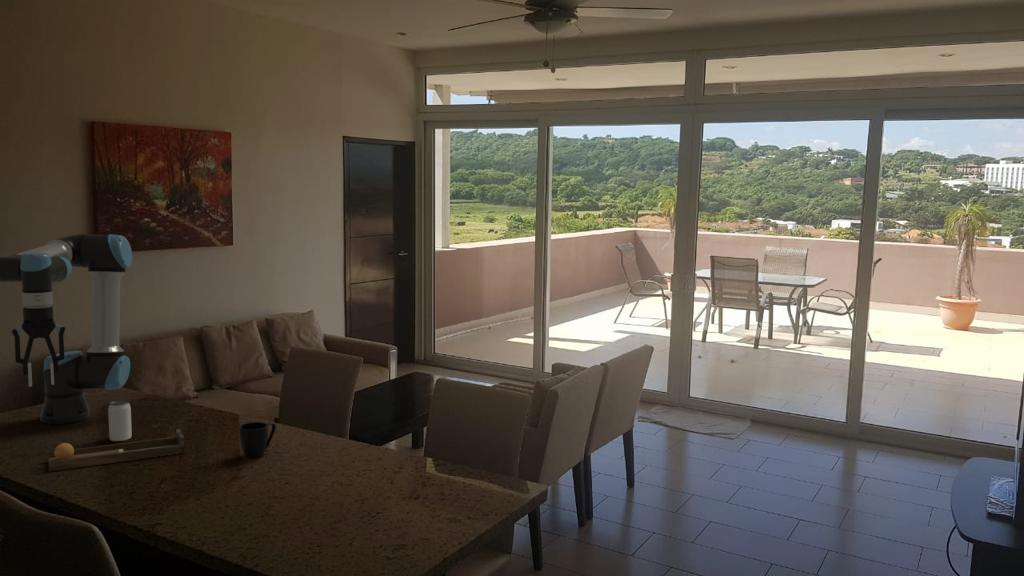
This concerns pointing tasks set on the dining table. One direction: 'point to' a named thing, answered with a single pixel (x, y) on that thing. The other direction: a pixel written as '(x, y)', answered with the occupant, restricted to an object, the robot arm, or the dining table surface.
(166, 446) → the lane
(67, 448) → the ball
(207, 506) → the dining table surface
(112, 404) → the can
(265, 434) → the mug
